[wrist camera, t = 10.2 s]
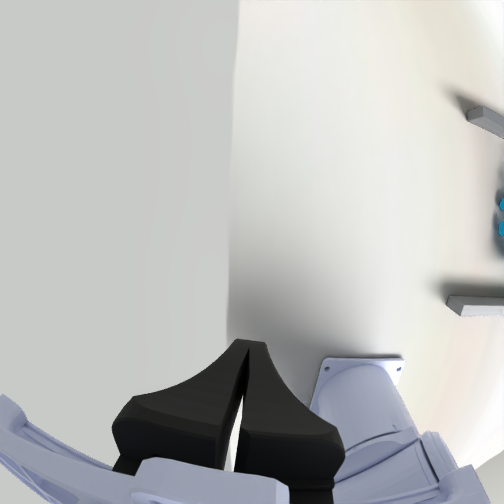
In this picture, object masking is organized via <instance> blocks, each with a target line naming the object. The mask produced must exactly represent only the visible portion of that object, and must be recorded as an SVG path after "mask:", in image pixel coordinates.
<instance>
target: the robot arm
mask: <svg viewBox="0 0 504 504" xmlns="http://www.w3.org/2000/svg"><path fill="white" fill-rule="evenodd" d="M404 365H405V361H404V359H403V358H387V359H360V358H325V359H324V360H323V362H322V365H321V369H320V373H319V376H318V380H317V384H316V387H315V391H314V394H313V398H312V401H311V405H310V408H309V409H308V408H307V407H306V406H305V405H304V404H302V403H301V402H300V401H299V400H298V399H297V398H296V397H295V396H294V395H293V393H292V392H291V391H290V390H289V389H288V387H287V386H286V385H285V383H284V382H283V380H282V379H281V377H280V375H279V374H278V372H277V370H276V368H275V366H274V364H273V362H272V360H271V358H270V355H269V353H268V349H267V345H266V344H265V342H258V341H250V340H243V339H236V340H234V342H233V343H232V344H231V346H230V347H229V348H228V349H227V350H226V351H225V352H224V353H223V354H222V355H221V356H220V357H219V358H218V359H217V360H216V361H215V362H213V363H212V364H211V365H210V366H208V367H207V368H206V369H204V370H203V371H201V372H200V373H198V374H197V375H195V376H194V377H192V378H190V379H188V380H186V381H184V382H182V383H180V384H178V385H175V386H172V387H170V388H167V389H164V390H160V391H157V392H153V393H148V394H143V395H137V396H133V397H132V398H131V400H130V401H129V402H128V403H127V404H126V405H125V406H124V407H123V409H122V410H121V412H120V413H119V414H118V416H117V418H116V419H115V421H114V422H113V425H112V433H113V436H114V439H115V442H116V444H117V447H118V449H119V452H120V456H119V458H118V460H117V462H116V463H115V465H114V467H111V466H109V465H106V464H104V463H102V462H99V461H97V460H95V459H93V458H91V457H89V456H87V455H85V454H83V453H81V452H79V451H77V450H75V449H73V448H71V447H69V446H68V445H66V444H64V443H62V442H61V441H59V440H57V439H55V438H54V437H52V436H50V435H49V434H47V433H45V432H44V431H42V430H41V429H39V428H38V427H36V426H35V425H33V424H32V423H30V422H29V421H28V420H27V417H26V415H25V413H24V412H23V410H22V409H21V408H20V407H19V405H17V404H16V403H15V402H13V401H12V400H11V399H9V398H8V397H7V396H5V395H4V394H2V395H1V396H0V463H1V464H2V465H3V466H4V467H6V468H7V469H8V470H9V471H10V472H11V473H12V474H14V475H15V476H16V477H17V478H18V479H20V480H21V481H22V482H23V483H24V484H26V485H27V486H28V487H29V488H31V489H32V490H33V491H34V492H36V493H37V494H38V495H40V496H41V497H42V498H44V499H45V500H46V501H48V502H49V503H51V504H490V500H489V498H488V496H487V494H486V492H485V490H484V488H483V486H482V484H481V482H480V480H479V478H478V476H477V474H476V472H475V470H474V468H473V466H472V464H469V465H467V466H464V467H462V468H458V466H457V464H456V462H455V460H454V458H453V456H452V454H451V452H450V451H449V449H448V447H447V445H446V444H445V442H444V440H443V439H442V437H441V436H440V434H439V433H438V432H430V431H426V432H425V433H423V434H422V435H420V434H419V432H418V430H417V428H416V426H415V424H414V422H413V420H412V418H411V416H410V414H409V412H408V410H407V408H406V406H405V404H404V402H403V400H402V398H401V396H400V394H399V392H398V390H397V388H396V385H397V383H398V380H399V378H400V375H401V373H402V371H403V368H404ZM326 367H329V368H328V369H325V368H326ZM398 367H399V368H398ZM397 368H398V369H397ZM242 396H243V409H242V420H241V425H240V431H239V438H238V445H237V453H236V460H235V467H234V472H229V471H224V466H225V461H226V456H227V451H228V446H229V441H230V436H231V432H232V429H233V425H234V422H235V419H236V416H237V413H238V409H239V406H240V403H241V399H242Z"/></svg>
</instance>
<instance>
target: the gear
mask: <svg viewBox="0 0 504 504" xmlns="http://www.w3.org/2000/svg"><path fill="white" fill-rule="evenodd" d="M499 207H500V209H501V210H502V211H504V197H503V199H502V200H501V202H500V205H499ZM498 234H499V235H501V236H504V221H501V222H500V224H499V229H498Z"/></svg>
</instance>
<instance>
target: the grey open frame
mask: <svg viewBox="0 0 504 504" xmlns="http://www.w3.org/2000/svg"><path fill="white" fill-rule="evenodd" d="M467 120H468V122H470V123H473V124H475V125H477V126H479V127H481V128H483V129H485V130H487V131H489V132H491V133H493V134H495V135H497V136H499V137H501V138H503V139H504V117H503V116H501V115H499V114H497V113H496V112H494V111H492V110H490V109H488V108H486V107H484V106H480V107H477V108H474V109H472V110H469V111H467ZM446 306H448V307H449V308H450V309H451V310H453V311H454V312H455V313H457V314H458V315H459V316H460V317H472V316H504V297H477V296H455V295H449V298H448V302H447V305H446Z"/></svg>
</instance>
